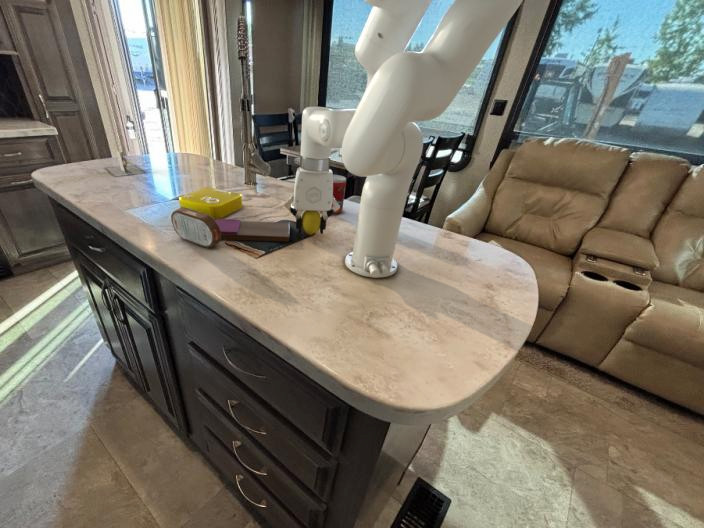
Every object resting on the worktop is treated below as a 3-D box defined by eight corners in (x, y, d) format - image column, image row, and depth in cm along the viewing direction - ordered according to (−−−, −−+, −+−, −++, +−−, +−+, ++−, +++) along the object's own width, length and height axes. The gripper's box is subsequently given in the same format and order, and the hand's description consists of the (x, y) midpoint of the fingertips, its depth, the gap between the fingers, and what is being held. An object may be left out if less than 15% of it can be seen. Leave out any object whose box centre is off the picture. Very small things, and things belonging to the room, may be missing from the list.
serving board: (289, 241, 88) (289, 236, 88) (206, 239, 87) (206, 233, 86) (289, 227, 97) (289, 222, 96) (214, 224, 95) (213, 219, 95)
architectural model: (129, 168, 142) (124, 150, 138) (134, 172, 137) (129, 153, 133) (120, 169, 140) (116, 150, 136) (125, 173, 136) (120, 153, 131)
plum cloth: (236, 234, 87) (236, 232, 87) (210, 233, 87) (210, 231, 87) (241, 221, 95) (241, 219, 94) (216, 220, 94) (216, 218, 94)
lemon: (318, 240, 90) (320, 212, 86) (298, 237, 91) (299, 209, 87) (321, 232, 95) (323, 205, 90) (302, 230, 96) (304, 203, 91)
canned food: (339, 216, 107) (343, 182, 100) (316, 212, 109) (318, 178, 102) (344, 209, 113) (348, 176, 106) (322, 205, 115) (325, 173, 108)
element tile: (244, 207, 109) (244, 192, 107) (217, 221, 98) (215, 205, 95) (208, 199, 114) (207, 185, 111) (178, 211, 103) (175, 196, 100)
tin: (223, 248, 83) (220, 216, 78) (214, 252, 81) (211, 220, 76) (181, 233, 89) (176, 203, 84) (172, 237, 87) (166, 206, 82)
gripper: (280, 165, 78) (279, 235, 89) (350, 169, 79) (342, 238, 90) (281, 159, 85) (280, 225, 95) (346, 162, 86) (338, 227, 96)
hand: (310, 230), depth 92 cm, fingers closed on lemon, 5 cm apart
